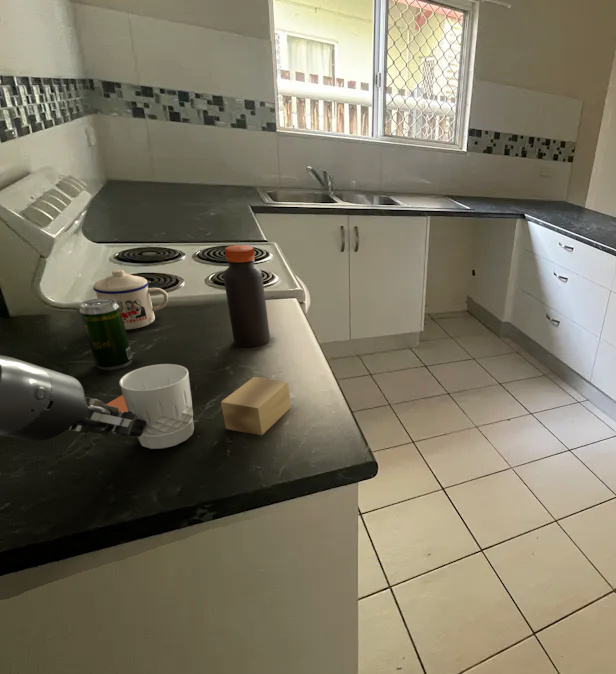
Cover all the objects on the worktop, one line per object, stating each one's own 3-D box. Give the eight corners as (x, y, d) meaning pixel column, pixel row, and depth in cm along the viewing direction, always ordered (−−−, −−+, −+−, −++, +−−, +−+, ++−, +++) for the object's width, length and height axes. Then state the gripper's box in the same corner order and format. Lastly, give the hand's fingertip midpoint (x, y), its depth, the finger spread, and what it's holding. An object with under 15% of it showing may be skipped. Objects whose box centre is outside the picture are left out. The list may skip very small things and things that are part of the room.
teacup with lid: (101, 333, 97) (85, 279, 92) (106, 317, 103) (92, 265, 99) (172, 326, 103) (160, 274, 98) (172, 310, 110) (162, 262, 105)
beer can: (134, 355, 90) (118, 296, 85) (133, 367, 86) (116, 306, 81) (97, 360, 87) (79, 299, 82) (94, 373, 83) (75, 310, 78)
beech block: (225, 429, 73) (220, 401, 71) (257, 402, 80) (254, 376, 78) (262, 435, 73) (257, 408, 70) (291, 407, 80) (288, 382, 78)
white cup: (120, 443, 68) (104, 382, 64) (170, 416, 75) (158, 359, 71) (164, 457, 66) (150, 395, 62) (211, 428, 73) (201, 370, 69)
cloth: (100, 411, 74) (99, 407, 74) (152, 380, 83) (152, 377, 83) (141, 418, 73) (140, 415, 73) (189, 386, 83) (188, 383, 82)
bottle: (267, 332, 104) (255, 242, 96) (273, 344, 99) (261, 251, 91) (232, 337, 101) (217, 244, 92) (236, 350, 96) (221, 253, 87)
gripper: (-66, 422, 48) (83, 447, 64) (48, 444, 47) (171, 464, 63) (-24, 354, 51) (109, 394, 67) (85, 373, 49) (194, 409, 66)
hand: (139, 428), depth 65 cm, fingers closed
